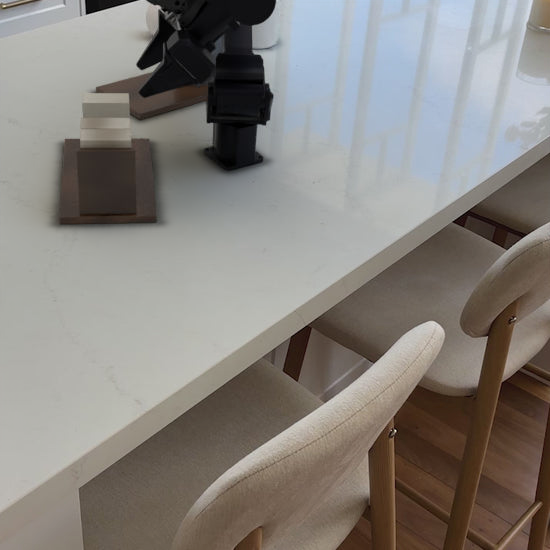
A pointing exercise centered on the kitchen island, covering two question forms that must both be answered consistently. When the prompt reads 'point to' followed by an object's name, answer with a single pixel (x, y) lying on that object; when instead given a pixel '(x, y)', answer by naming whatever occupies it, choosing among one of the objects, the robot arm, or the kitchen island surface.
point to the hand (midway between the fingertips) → (139, 80)
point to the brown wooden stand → (107, 175)
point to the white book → (105, 105)
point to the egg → (152, 18)
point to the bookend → (159, 101)
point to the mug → (267, 30)
